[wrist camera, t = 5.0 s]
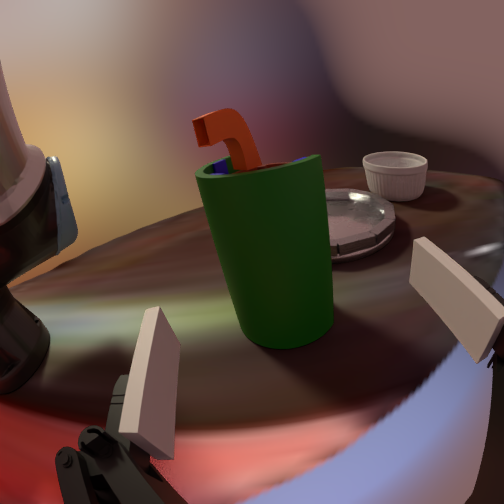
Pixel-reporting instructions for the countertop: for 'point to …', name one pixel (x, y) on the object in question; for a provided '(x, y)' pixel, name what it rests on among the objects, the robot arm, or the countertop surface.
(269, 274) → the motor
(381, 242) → the tray
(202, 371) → the countertop surface
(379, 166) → the ramekin
